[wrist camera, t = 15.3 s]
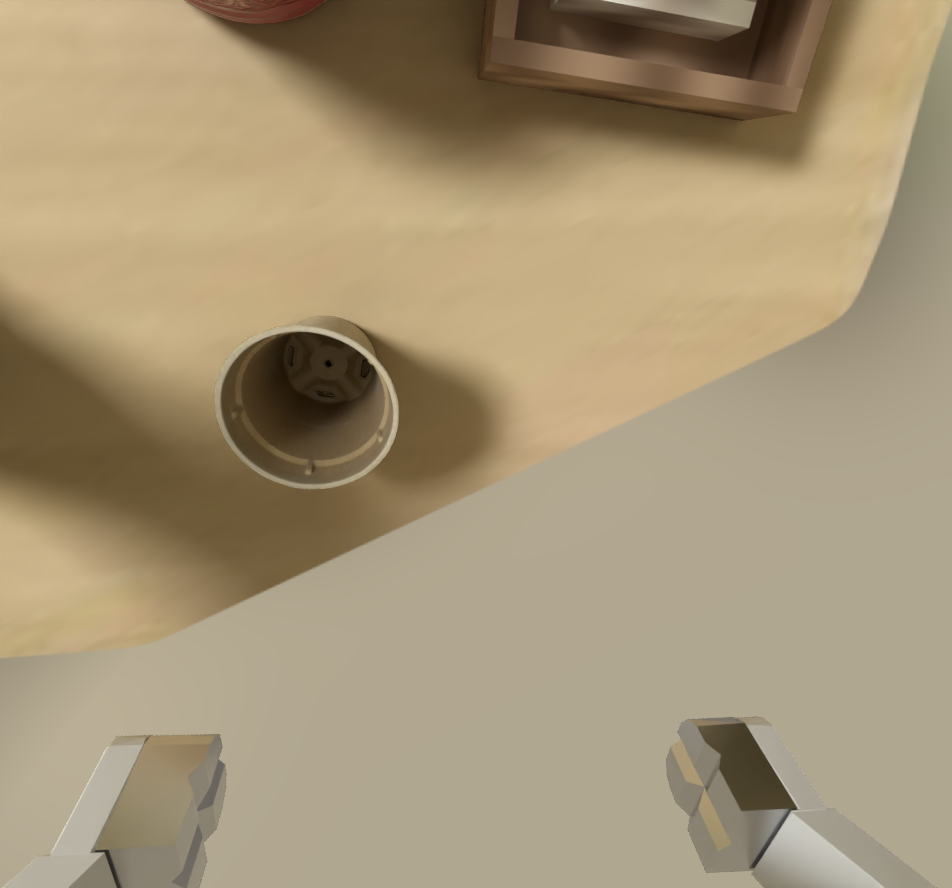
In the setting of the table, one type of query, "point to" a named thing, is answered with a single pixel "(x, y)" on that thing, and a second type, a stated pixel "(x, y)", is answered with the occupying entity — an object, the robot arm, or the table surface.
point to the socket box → (659, 51)
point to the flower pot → (307, 404)
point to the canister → (257, 9)
